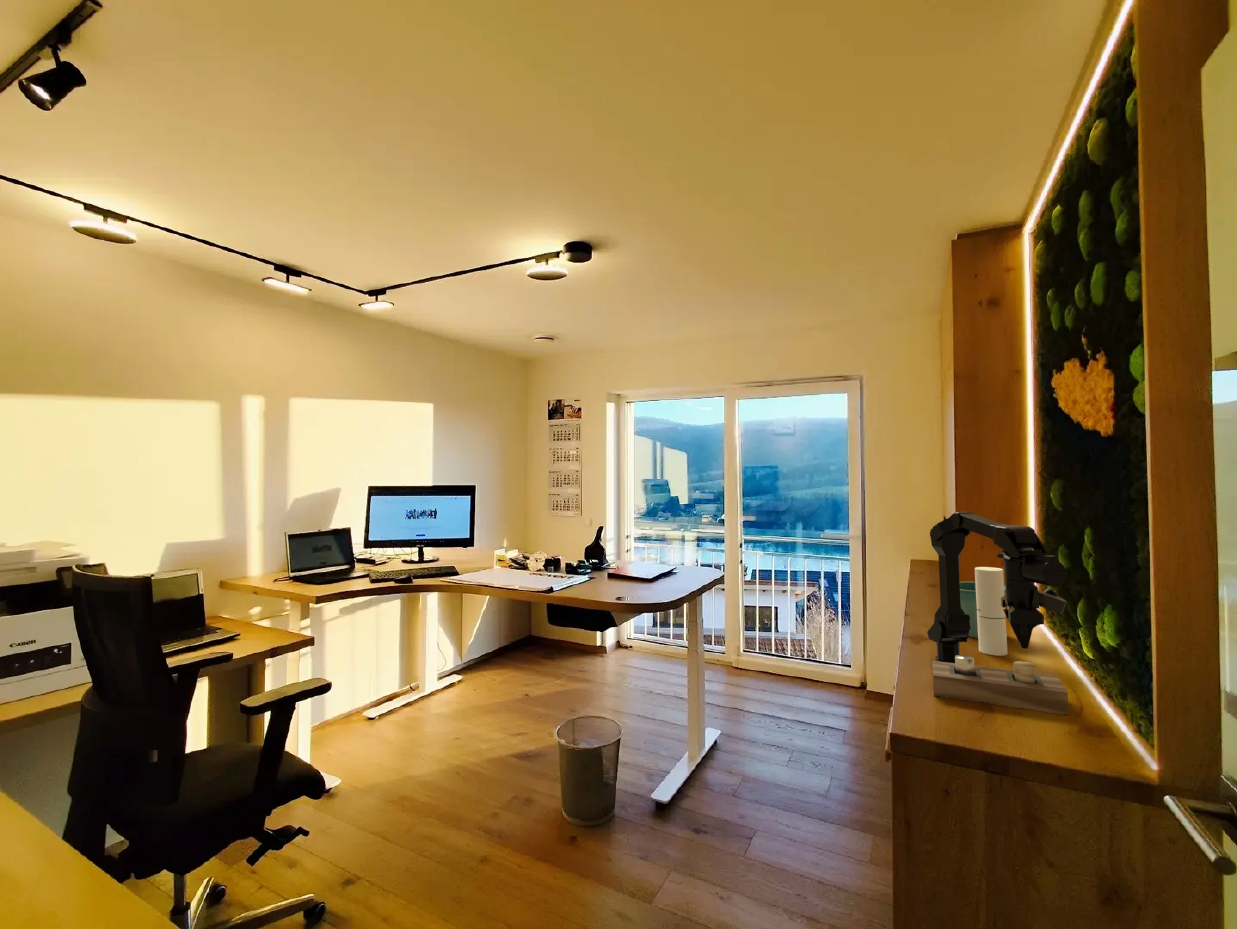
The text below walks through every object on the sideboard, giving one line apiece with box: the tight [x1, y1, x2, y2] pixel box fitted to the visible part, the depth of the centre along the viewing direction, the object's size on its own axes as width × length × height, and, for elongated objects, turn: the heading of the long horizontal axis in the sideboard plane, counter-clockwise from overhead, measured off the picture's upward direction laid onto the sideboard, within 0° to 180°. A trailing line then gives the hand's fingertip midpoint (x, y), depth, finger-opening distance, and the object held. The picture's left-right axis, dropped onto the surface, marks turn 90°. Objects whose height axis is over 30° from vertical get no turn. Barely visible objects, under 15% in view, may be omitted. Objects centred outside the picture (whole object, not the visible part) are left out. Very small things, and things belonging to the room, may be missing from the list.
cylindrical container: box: [974, 566, 1008, 657], centre depth 166 cm, size 7×7×25 cm
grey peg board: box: [932, 660, 1070, 715], centre depth 134 cm, size 12×26×5 cm, turn 61°
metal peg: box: [955, 654, 975, 676], centre depth 137 cm, size 4×4×5 cm
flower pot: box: [960, 581, 1006, 639], centre depth 185 cm, size 16×16×16 cm
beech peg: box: [1012, 660, 1036, 683], centre depth 131 cm, size 4×4×5 cm
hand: (1022, 645), depth 131 cm, fingers open, 6 cm apart
